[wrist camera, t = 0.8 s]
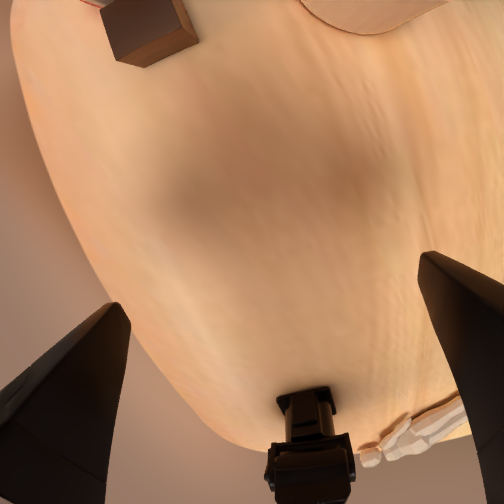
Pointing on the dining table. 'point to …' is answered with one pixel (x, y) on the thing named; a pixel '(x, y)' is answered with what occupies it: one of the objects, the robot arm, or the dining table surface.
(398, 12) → the mug
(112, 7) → the walnut block
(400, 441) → the doll
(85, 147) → the dining table surface
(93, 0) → the ink box
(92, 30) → the dining table surface
